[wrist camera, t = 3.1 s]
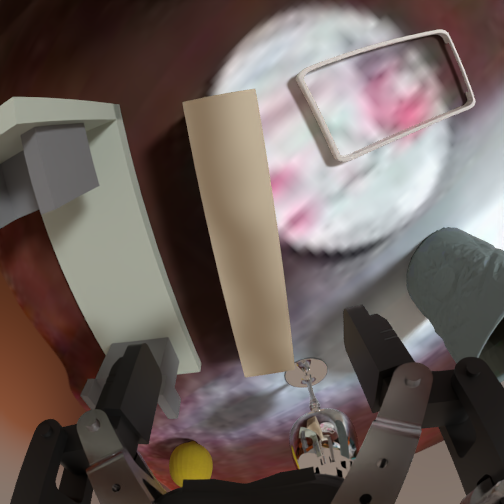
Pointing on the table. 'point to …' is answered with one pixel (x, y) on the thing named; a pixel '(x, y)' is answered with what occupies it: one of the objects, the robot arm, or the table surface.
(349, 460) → the wineglass
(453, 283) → the grey plant pot
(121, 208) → the bracket stand
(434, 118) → the phone case
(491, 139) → the table surface
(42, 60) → the table surface
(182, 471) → the lemon
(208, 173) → the rail
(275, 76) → the table surface
